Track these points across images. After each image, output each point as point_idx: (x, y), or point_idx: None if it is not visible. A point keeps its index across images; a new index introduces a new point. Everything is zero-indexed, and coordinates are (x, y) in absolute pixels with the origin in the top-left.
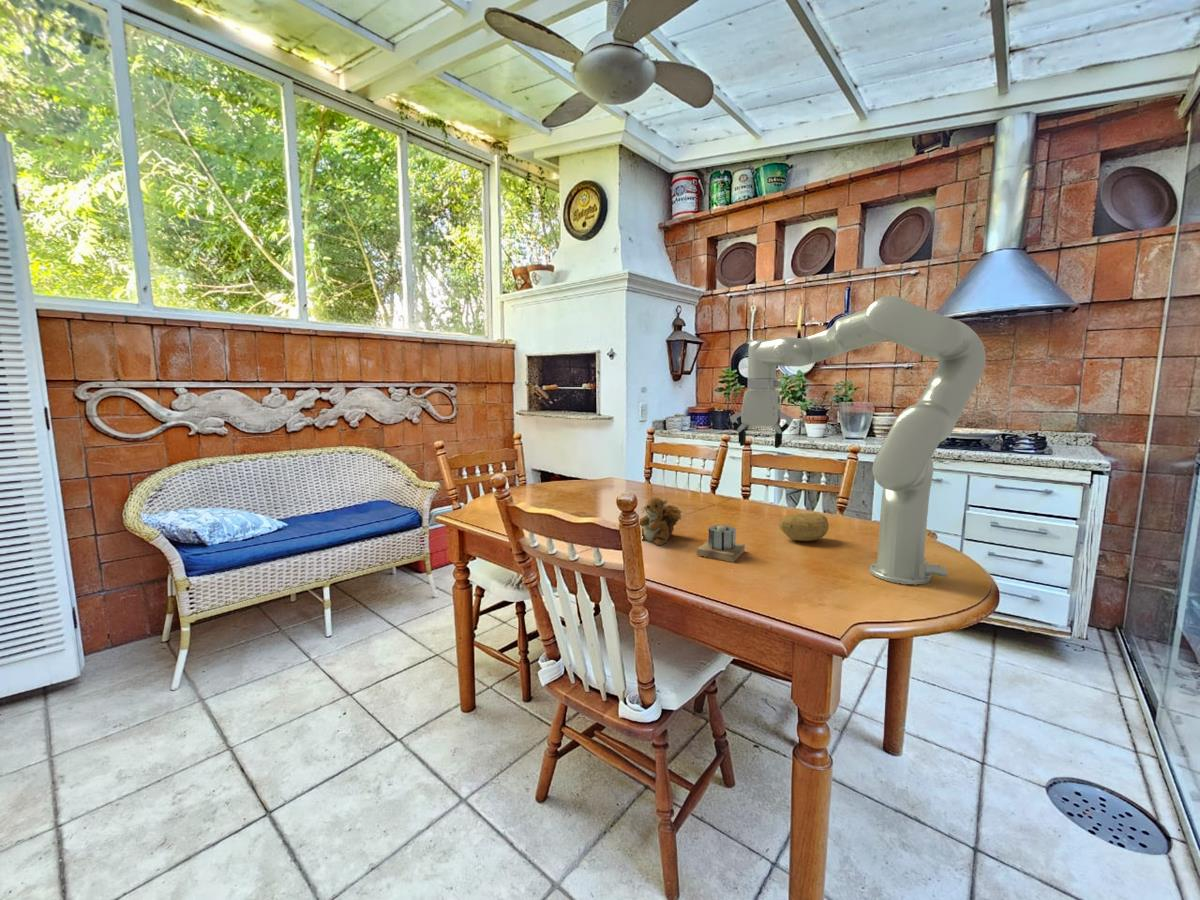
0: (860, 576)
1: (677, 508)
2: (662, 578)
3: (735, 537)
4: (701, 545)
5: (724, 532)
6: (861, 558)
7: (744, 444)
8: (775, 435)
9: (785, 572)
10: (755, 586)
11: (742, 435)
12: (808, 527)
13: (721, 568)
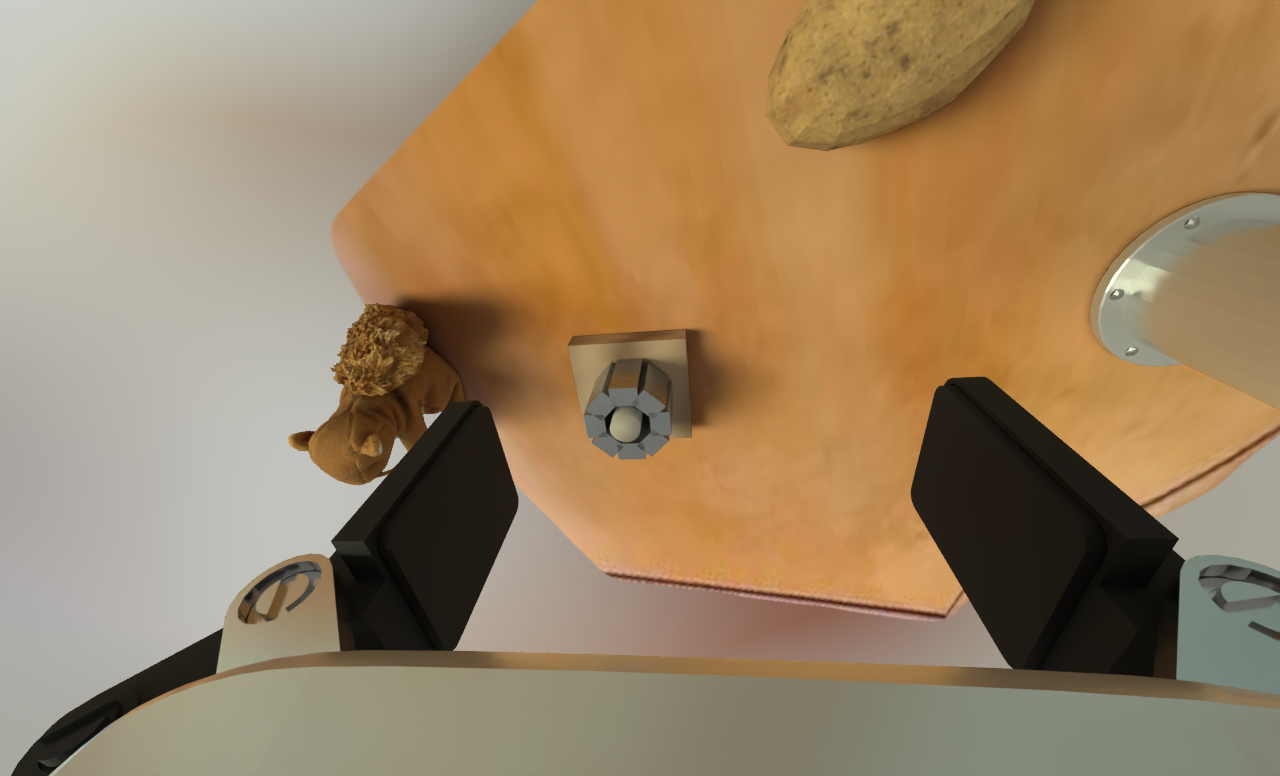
0: (1045, 353)
1: (382, 352)
2: (605, 558)
3: (670, 397)
4: (582, 413)
5: (651, 454)
6: (1098, 167)
7: (497, 444)
8: (1008, 649)
9: (833, 423)
10: (782, 519)
11: (465, 613)
12: (920, 117)
13: (682, 470)
